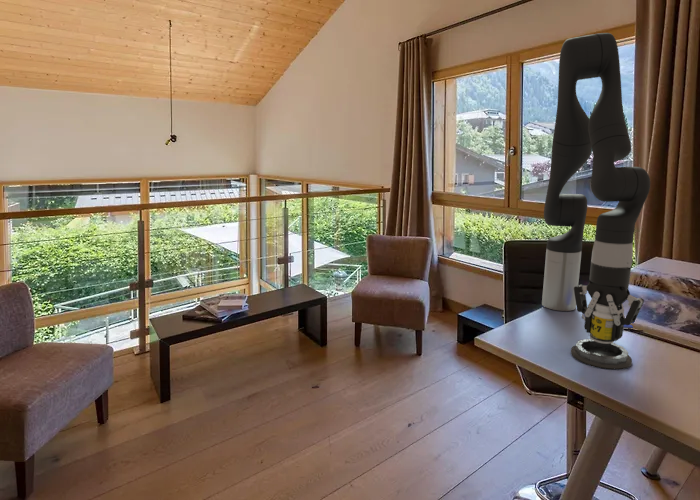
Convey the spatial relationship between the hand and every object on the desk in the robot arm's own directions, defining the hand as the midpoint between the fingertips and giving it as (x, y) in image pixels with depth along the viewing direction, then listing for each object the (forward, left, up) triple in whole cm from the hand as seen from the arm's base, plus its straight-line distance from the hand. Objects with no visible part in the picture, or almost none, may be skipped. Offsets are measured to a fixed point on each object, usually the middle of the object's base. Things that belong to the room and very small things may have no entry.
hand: (602, 335), depth 100 cm
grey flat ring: (0, 0, -5) cm, 5 cm away
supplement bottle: (0, 0, -1) cm, 1 cm away
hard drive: (-22, +11, -6) cm, 25 cm away
